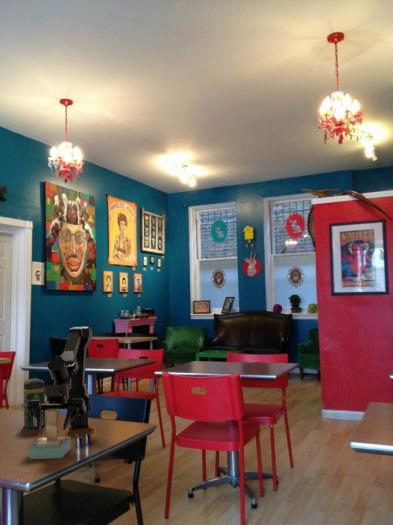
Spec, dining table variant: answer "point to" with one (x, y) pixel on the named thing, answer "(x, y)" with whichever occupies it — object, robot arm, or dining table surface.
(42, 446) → the teal square tray
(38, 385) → the coffee jar
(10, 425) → the dining table surface
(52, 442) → the tan boxy piece
